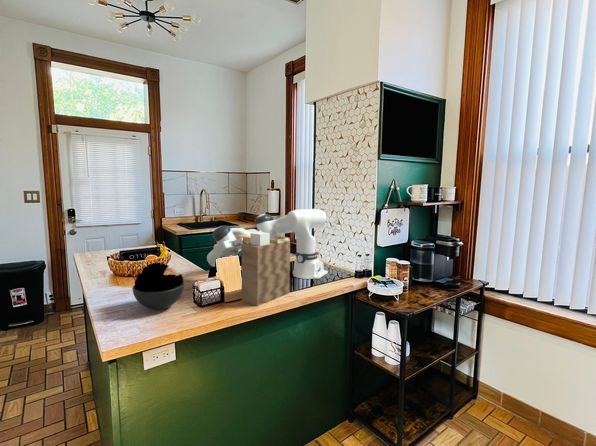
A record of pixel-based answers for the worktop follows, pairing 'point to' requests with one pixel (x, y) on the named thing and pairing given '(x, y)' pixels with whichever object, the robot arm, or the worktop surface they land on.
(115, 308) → the worktop surface
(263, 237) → the mallet
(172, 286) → the dark grey bowl
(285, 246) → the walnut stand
